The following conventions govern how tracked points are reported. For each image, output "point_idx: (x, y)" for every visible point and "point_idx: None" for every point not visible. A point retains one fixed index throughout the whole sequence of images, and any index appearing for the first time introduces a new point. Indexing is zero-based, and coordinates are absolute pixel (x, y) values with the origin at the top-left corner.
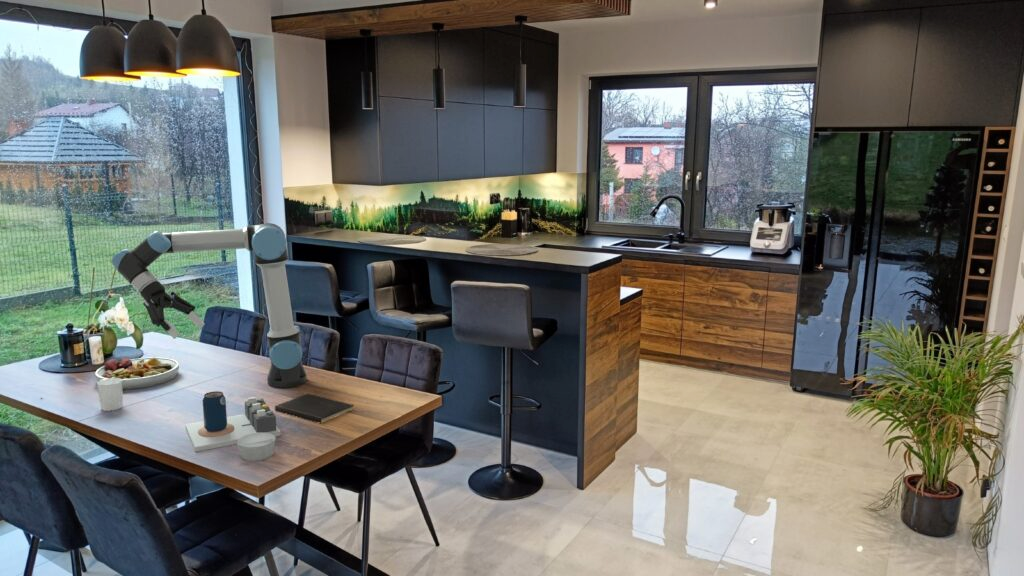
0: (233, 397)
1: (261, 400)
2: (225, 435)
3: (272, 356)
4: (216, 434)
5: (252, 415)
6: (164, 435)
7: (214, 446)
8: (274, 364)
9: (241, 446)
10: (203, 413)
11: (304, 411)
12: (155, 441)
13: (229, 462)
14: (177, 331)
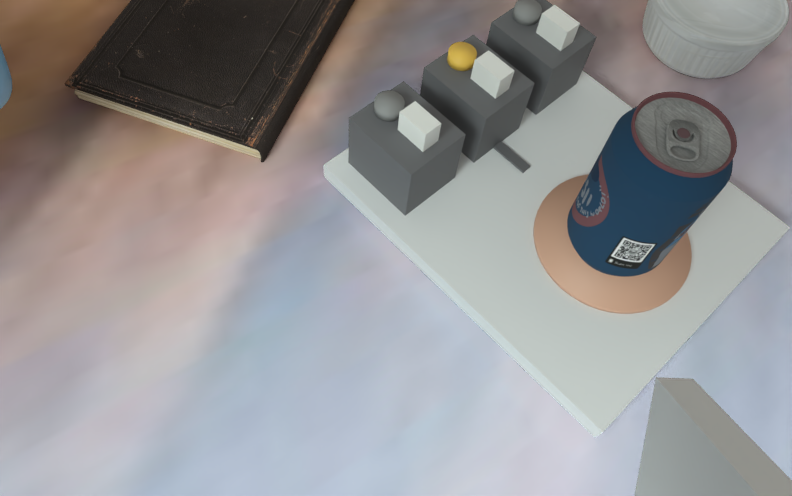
0: (74, 467)
1: (398, 95)
2: None
3: (1, 51)
4: None
5: (529, 92)
6: None
7: None
8: (9, 96)
9: (788, 15)
10: (688, 229)
11: (308, 21)
12: None
13: (783, 90)
14: (690, 402)
